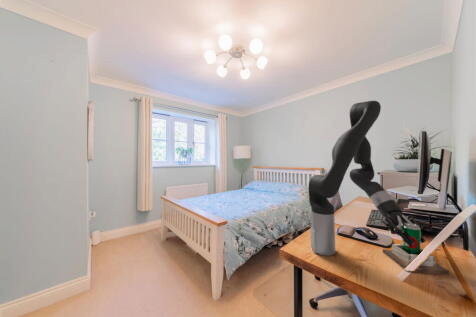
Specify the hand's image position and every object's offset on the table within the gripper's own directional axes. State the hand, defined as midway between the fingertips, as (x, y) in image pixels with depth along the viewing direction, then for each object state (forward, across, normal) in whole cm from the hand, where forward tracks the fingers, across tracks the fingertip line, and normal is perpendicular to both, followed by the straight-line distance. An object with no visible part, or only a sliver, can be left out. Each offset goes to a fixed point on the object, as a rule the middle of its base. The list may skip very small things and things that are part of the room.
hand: (417, 243), depth 67 cm
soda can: (+3, 0, +6) cm, 6 cm away
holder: (+5, 0, +7) cm, 8 cm away
